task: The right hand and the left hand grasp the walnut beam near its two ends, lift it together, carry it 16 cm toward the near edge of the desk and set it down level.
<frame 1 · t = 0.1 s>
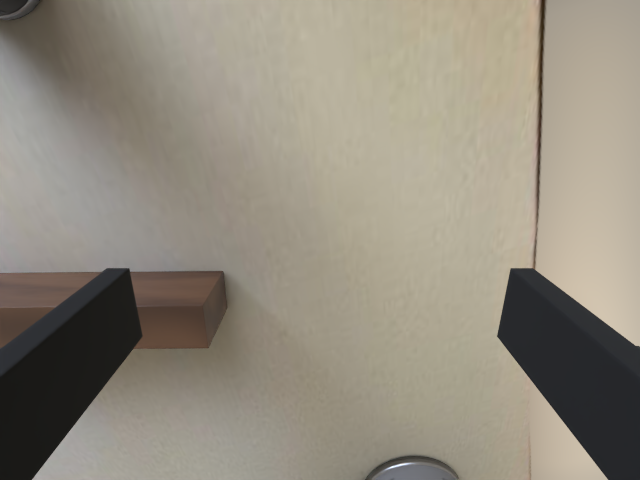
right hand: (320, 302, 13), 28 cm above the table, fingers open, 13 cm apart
beam: (101, 290, 44), on the table
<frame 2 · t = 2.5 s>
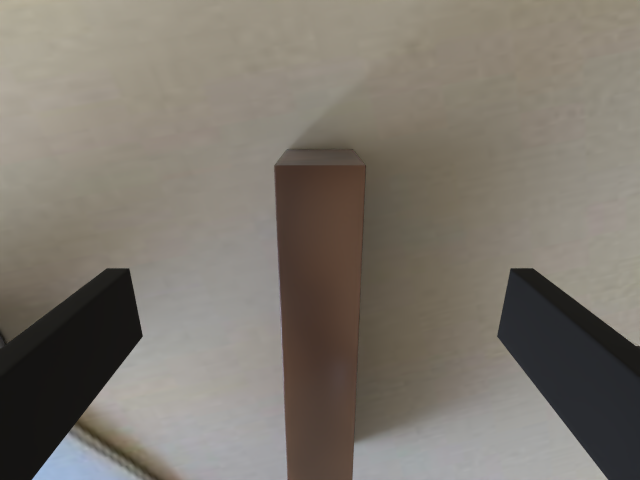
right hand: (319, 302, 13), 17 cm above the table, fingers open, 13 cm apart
beam: (320, 321, 32), on the table
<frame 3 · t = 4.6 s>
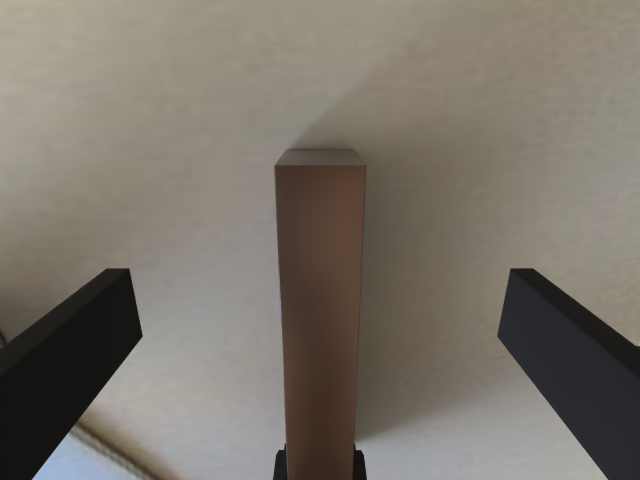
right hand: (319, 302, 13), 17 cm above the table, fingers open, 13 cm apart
beam: (319, 321, 32), on the table, touching left hand
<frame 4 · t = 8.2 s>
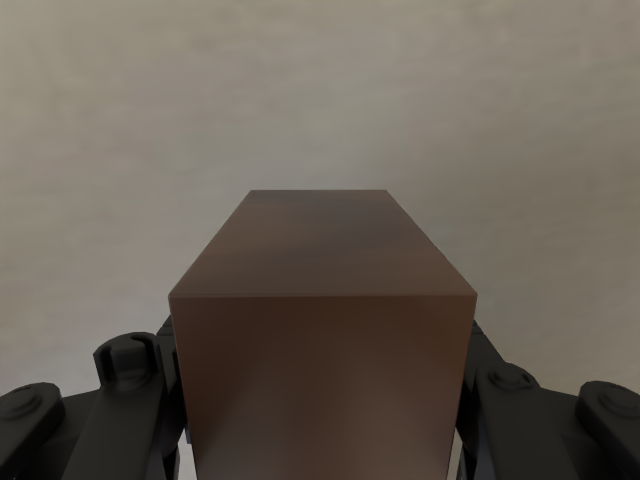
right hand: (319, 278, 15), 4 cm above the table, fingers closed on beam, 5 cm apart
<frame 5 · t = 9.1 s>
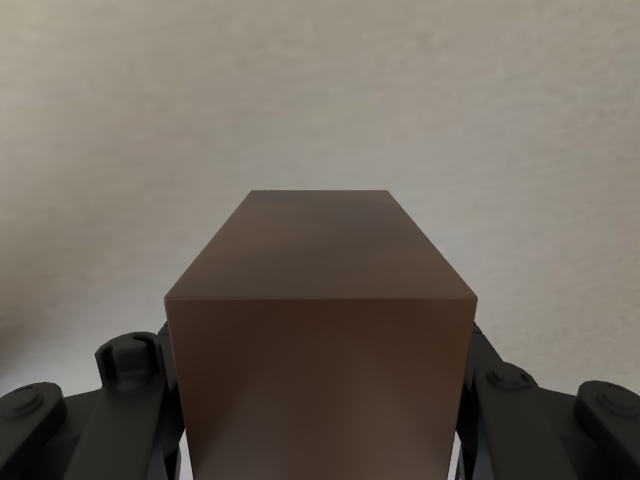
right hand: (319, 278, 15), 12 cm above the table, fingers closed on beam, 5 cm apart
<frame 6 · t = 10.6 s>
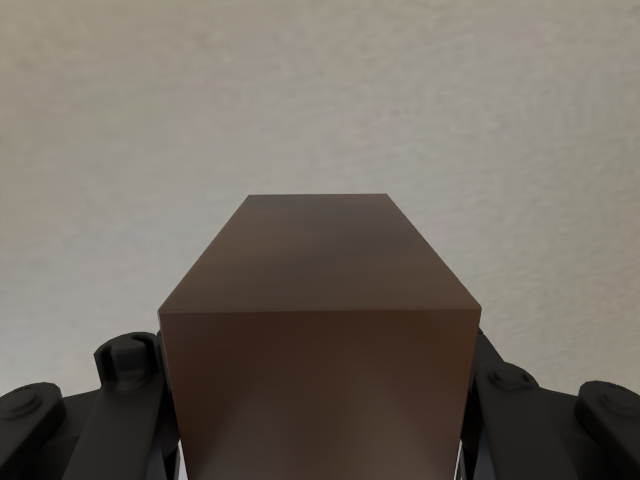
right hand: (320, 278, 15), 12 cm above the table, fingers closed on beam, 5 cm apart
when the right hand's fingers open (1 cm above the table, at t = 13.4 s): beam moves 1 cm, on the table.
when the left hand's fingers open (4 cm above the table, at t = 13.6 s): beam stays where it is, on the table.
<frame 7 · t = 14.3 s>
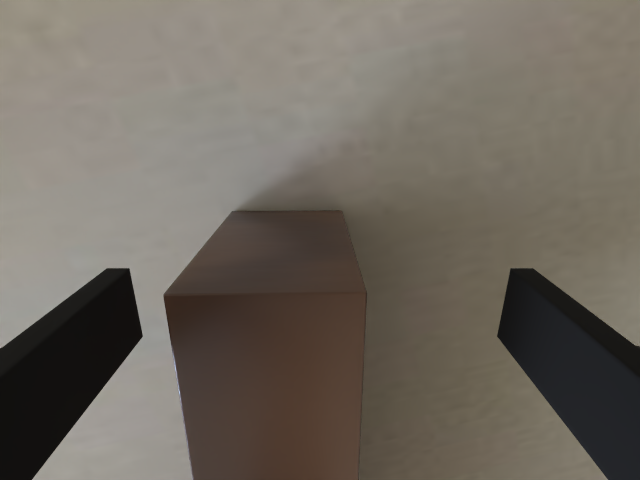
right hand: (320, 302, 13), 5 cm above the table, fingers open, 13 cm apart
beam: (294, 457, 21), on the table, touching left hand
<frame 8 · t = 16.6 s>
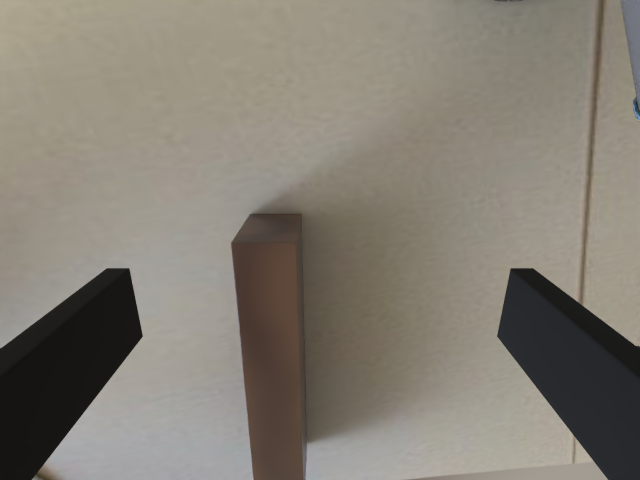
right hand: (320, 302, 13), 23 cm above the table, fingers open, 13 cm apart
beam: (282, 343, 40), on the table
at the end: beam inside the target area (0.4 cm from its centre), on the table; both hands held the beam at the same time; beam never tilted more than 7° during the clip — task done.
